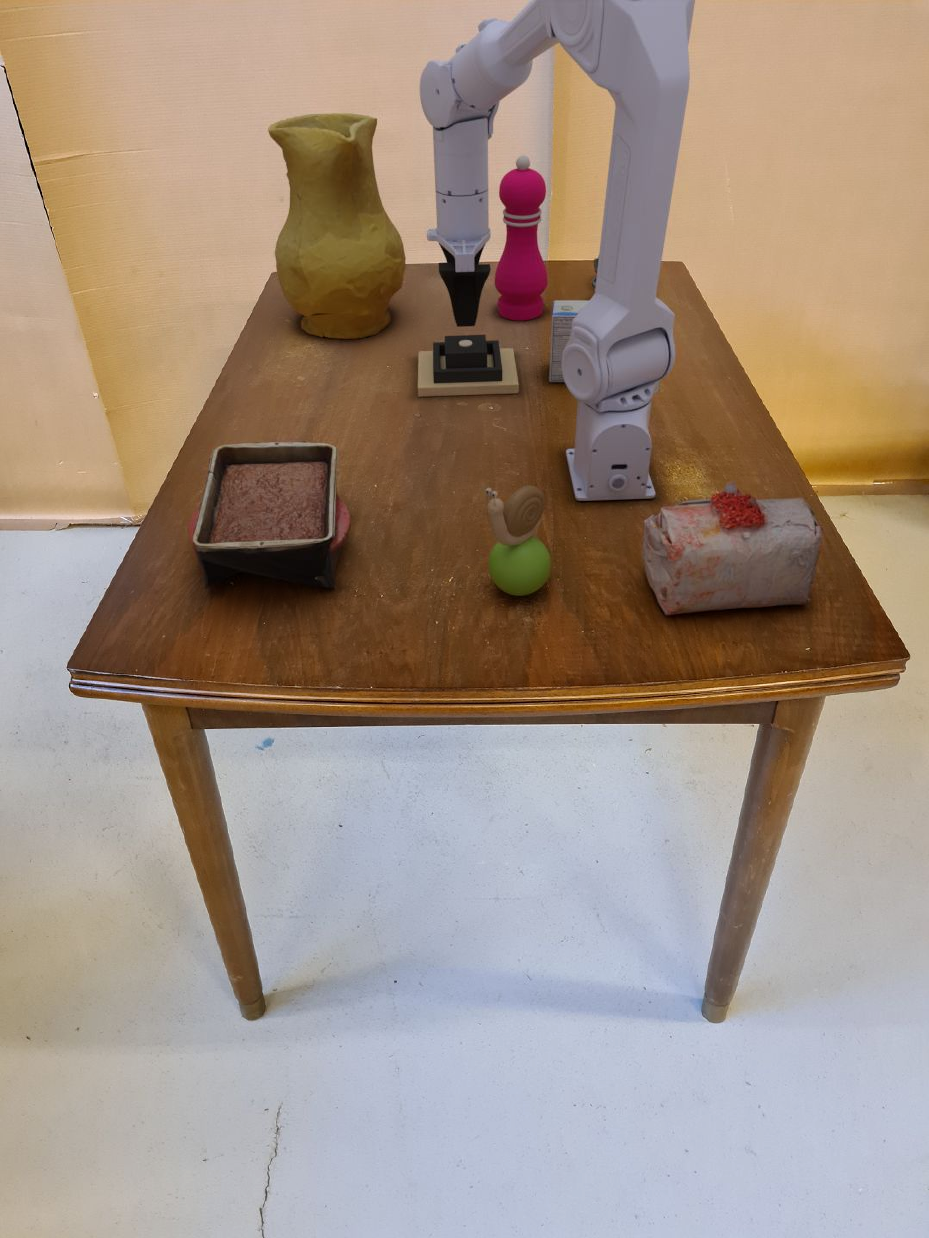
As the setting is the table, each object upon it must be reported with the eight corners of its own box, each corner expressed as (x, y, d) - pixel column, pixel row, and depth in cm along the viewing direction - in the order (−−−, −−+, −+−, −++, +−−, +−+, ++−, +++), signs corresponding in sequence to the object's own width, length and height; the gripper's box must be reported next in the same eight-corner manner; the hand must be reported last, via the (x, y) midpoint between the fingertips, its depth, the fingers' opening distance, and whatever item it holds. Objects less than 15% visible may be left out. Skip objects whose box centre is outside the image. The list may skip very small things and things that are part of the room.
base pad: (518, 393, 108) (519, 372, 106) (418, 397, 108) (416, 376, 106) (512, 356, 116) (513, 336, 114) (419, 360, 116) (417, 339, 114)
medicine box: (613, 368, 113) (619, 300, 107) (614, 385, 109) (620, 315, 103) (549, 367, 113) (552, 298, 108) (548, 383, 110) (551, 314, 104)
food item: (654, 626, 76) (669, 531, 70) (633, 568, 82) (645, 475, 76) (813, 615, 77) (842, 519, 70) (781, 558, 83) (805, 465, 76)
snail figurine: (468, 594, 80) (464, 478, 72) (517, 562, 83) (519, 448, 76) (512, 622, 77) (514, 504, 69) (562, 588, 80) (569, 472, 73)
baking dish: (365, 520, 92) (348, 427, 87) (345, 613, 77) (324, 506, 72) (227, 533, 93) (202, 441, 88) (180, 627, 78) (147, 523, 73)
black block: (487, 375, 109) (487, 351, 107) (445, 377, 109) (445, 352, 107) (485, 357, 113) (485, 333, 111) (445, 359, 113) (444, 334, 111)
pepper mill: (487, 306, 128) (486, 151, 115) (535, 298, 130) (539, 145, 116) (504, 325, 123) (505, 166, 110) (554, 318, 124) (561, 160, 111)
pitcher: (275, 348, 118) (247, 133, 103) (291, 299, 133) (270, 105, 117) (406, 347, 119) (399, 133, 103) (409, 299, 133) (402, 106, 118)
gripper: (425, 170, 103) (430, 289, 112) (424, 211, 92) (430, 339, 101) (487, 168, 103) (488, 287, 112) (493, 208, 92) (494, 337, 101)
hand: (464, 312), depth 106 cm, fingers open, 7 cm apart
